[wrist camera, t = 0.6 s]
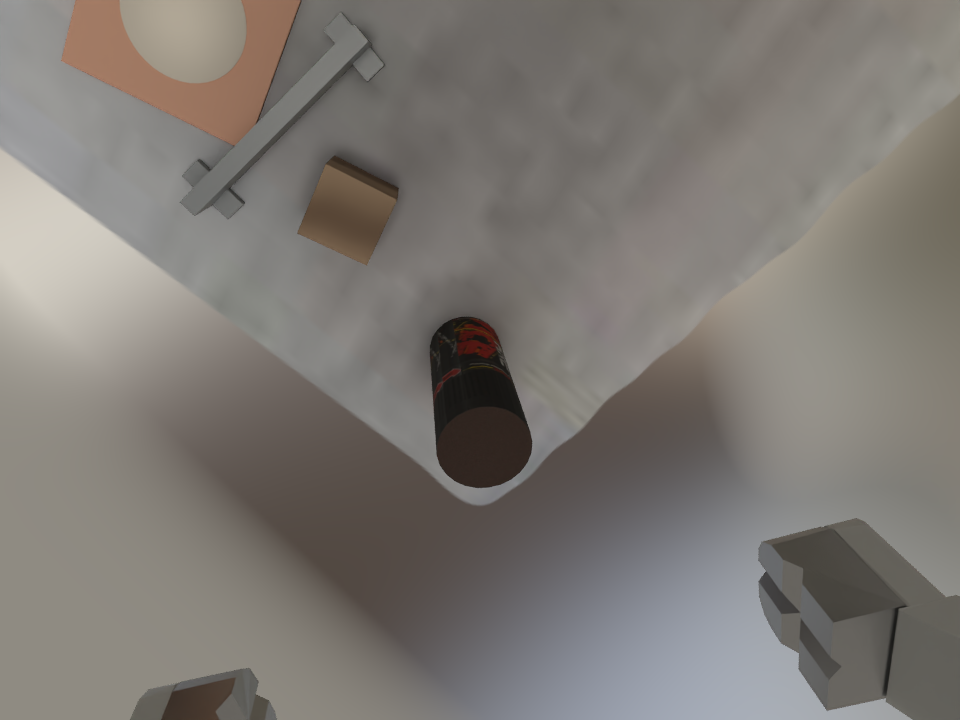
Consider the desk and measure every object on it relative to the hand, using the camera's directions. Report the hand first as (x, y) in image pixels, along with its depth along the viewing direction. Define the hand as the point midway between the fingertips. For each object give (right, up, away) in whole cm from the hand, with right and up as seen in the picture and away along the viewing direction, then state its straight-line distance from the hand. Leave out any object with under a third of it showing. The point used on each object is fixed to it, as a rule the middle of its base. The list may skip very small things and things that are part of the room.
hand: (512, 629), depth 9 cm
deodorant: (-2, +5, +41) cm, 41 cm away
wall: (-14, +21, +32) cm, 41 cm away
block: (-10, +16, +35) cm, 40 cm away
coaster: (-19, +26, +29) cm, 44 cm away
